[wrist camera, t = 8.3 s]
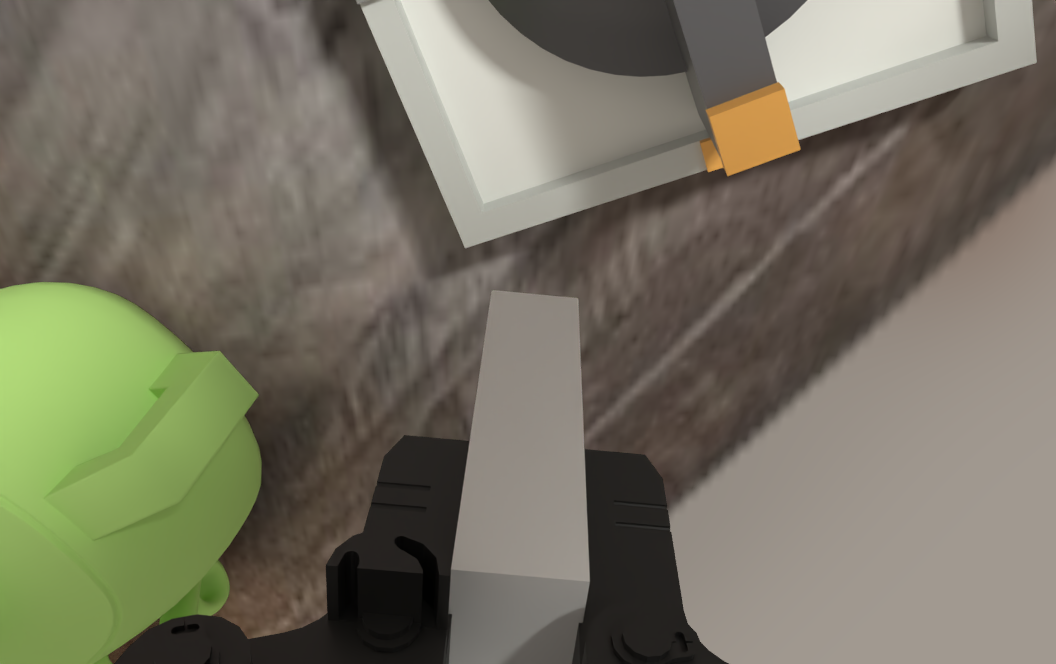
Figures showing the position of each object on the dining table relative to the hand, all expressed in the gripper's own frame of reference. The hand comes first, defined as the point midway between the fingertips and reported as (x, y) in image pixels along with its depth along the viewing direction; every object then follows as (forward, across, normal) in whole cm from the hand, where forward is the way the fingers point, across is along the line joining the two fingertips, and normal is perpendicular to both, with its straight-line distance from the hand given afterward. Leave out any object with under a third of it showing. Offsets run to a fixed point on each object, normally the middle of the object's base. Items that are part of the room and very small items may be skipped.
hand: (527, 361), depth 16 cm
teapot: (+22, -22, -18) cm, 36 cm away
